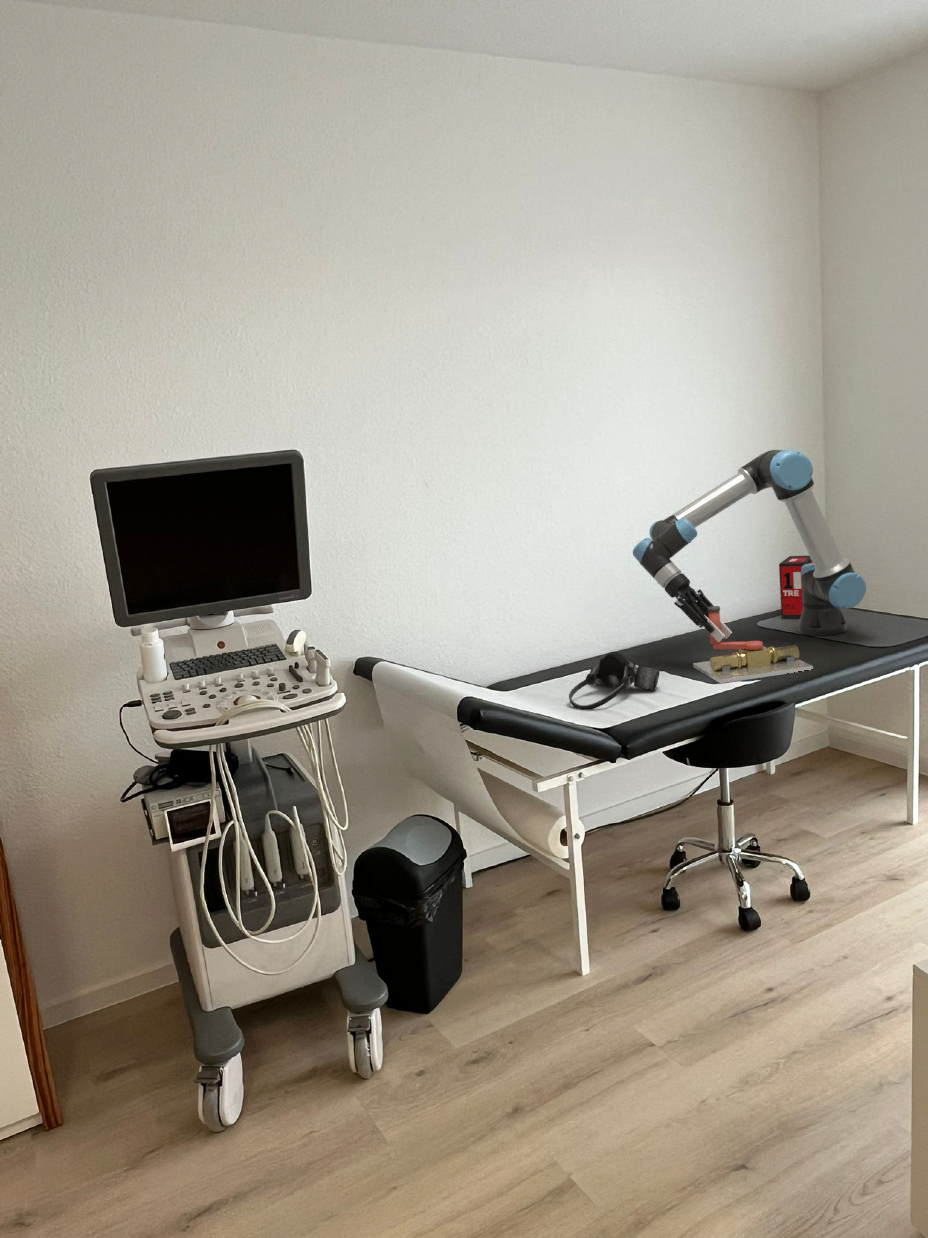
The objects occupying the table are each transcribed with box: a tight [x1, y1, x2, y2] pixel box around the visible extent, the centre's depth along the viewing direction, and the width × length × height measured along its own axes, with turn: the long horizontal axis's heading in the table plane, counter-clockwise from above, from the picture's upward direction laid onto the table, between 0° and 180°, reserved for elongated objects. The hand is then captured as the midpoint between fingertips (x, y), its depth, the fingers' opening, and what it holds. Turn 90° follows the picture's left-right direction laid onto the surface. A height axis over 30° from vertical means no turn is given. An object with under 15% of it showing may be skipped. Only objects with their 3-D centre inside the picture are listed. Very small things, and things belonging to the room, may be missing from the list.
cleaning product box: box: [778, 555, 813, 620], centre depth 351 cm, size 16×9×20 cm, turn 149°
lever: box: [708, 605, 764, 650], centre depth 289 cm, size 15×5×12 cm, turn 66°
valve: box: [692, 644, 814, 684], centre depth 289 cm, size 28×21×6 cm
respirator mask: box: [568, 651, 660, 710], centre depth 278 cm, size 22×24×17 cm
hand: (725, 637), depth 290 cm, fingers open, 4 cm apart
